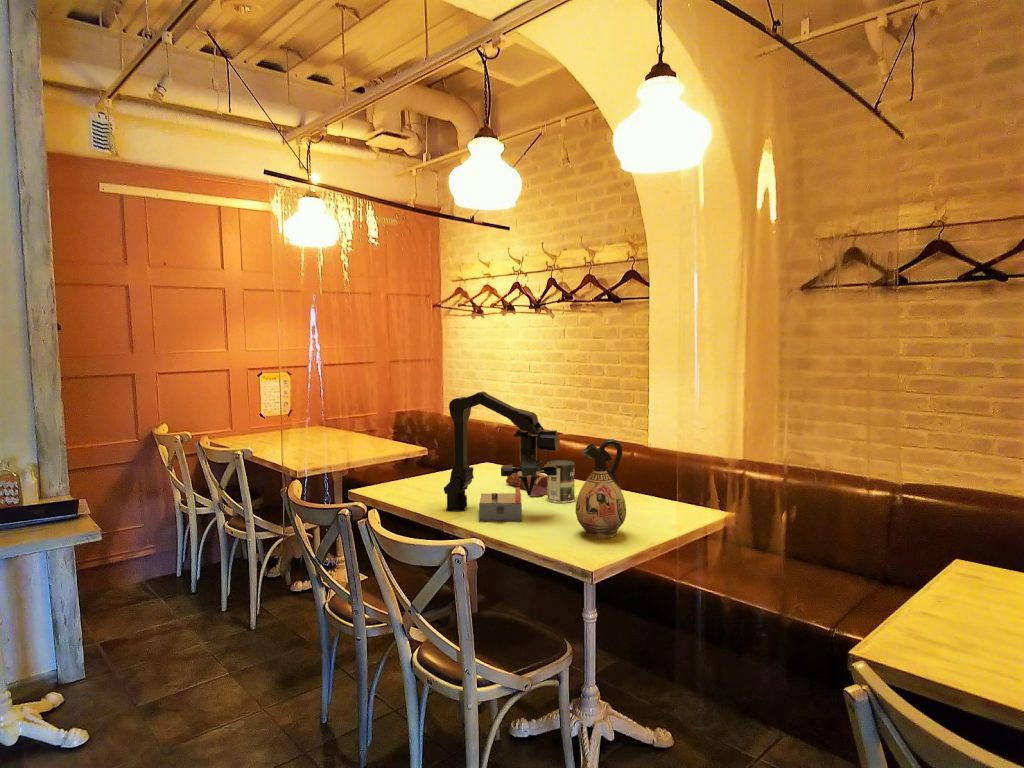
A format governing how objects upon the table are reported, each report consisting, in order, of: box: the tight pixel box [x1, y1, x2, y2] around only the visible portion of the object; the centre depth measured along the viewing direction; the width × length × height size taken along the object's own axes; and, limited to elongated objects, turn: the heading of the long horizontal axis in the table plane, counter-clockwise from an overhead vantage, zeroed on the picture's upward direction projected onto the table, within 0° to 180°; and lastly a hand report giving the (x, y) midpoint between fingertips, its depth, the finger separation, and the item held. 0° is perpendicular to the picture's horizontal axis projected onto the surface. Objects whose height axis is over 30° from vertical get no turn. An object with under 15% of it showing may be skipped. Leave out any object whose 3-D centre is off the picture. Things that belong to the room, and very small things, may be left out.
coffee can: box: [546, 459, 576, 504], centre depth 239 cm, size 10×10×14 cm
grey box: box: [478, 492, 523, 523], centre depth 218 cm, size 14×19×6 cm
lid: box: [478, 487, 522, 505], centre depth 218 cm, size 14×12×3 cm
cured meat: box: [505, 473, 548, 498], centre depth 256 cm, size 18×25×7 cm
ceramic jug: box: [575, 438, 627, 540], centre depth 196 cm, size 17×15×30 cm
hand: (529, 495), depth 218 cm, fingers closed
